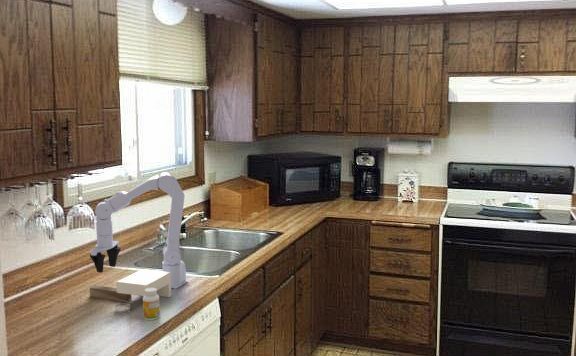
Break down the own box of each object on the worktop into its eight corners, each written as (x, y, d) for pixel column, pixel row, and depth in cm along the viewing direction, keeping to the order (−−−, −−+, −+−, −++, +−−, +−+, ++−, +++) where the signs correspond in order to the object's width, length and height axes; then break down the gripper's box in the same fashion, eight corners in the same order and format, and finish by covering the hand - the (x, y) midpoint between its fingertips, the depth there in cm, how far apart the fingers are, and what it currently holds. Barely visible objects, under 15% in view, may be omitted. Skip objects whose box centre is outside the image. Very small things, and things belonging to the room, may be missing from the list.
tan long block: (95, 294, 217) (94, 285, 216) (131, 299, 211) (131, 290, 211) (90, 297, 214) (89, 287, 213) (126, 302, 208) (126, 292, 208)
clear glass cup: (120, 308, 202) (120, 302, 202) (133, 309, 201) (132, 304, 201) (112, 313, 198) (112, 307, 197) (125, 314, 196) (124, 309, 196)
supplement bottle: (142, 315, 194) (141, 288, 193) (158, 313, 197) (157, 286, 195) (144, 321, 190) (143, 293, 188) (161, 319, 192) (160, 290, 190)
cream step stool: (142, 292, 218) (141, 268, 217) (171, 295, 214) (170, 272, 213) (116, 306, 203) (115, 281, 202) (147, 310, 199) (146, 285, 198)
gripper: (107, 229, 225) (109, 263, 227) (83, 237, 212) (84, 273, 213) (123, 230, 223) (124, 264, 225) (99, 239, 209) (100, 275, 211)
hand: (106, 269), depth 219 cm, fingers open, 7 cm apart
